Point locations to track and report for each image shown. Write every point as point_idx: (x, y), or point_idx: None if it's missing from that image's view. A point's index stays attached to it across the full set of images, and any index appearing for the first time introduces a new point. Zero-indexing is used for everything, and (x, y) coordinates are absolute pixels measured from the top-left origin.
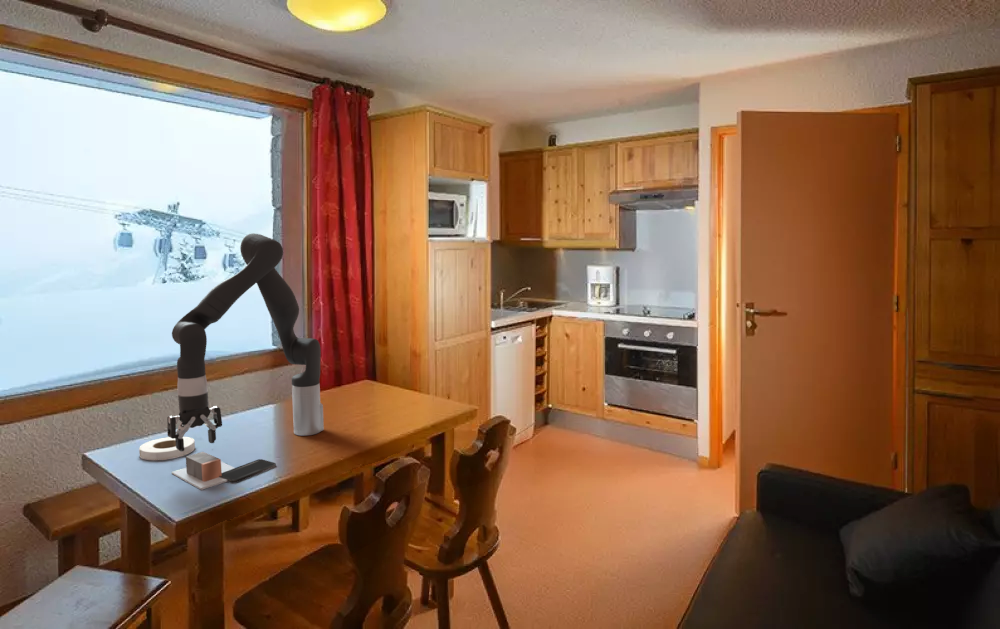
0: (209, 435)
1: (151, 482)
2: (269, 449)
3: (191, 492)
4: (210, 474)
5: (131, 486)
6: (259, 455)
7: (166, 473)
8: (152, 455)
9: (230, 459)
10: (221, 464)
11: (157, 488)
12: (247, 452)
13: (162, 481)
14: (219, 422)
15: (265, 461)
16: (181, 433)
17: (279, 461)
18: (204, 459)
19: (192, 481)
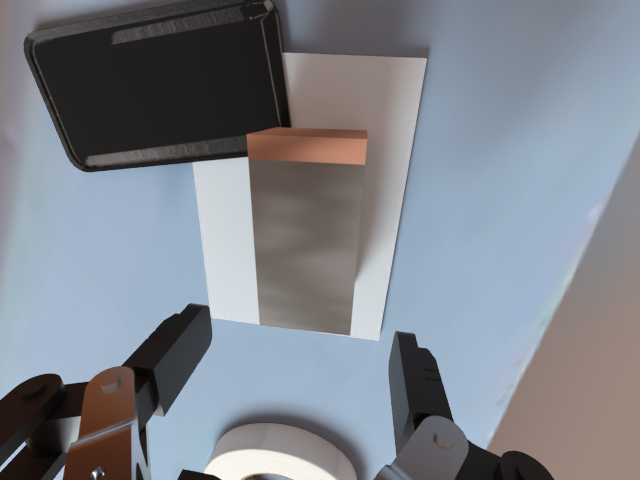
0: (184, 364)
1: (473, 323)
2: (25, 251)
3: (470, 72)
4: (330, 130)
5: (535, 347)
6: (71, 228)
7: (387, 350)
8: (346, 475)
9: (171, 282)
10: (218, 255)
11: (507, 254)
12: (101, 290)
13: (445, 300)
14: (10, 417)
15: (62, 124)
16: (438, 473)
17: (11, 88)
18: (312, 217)
19: (394, 183)
